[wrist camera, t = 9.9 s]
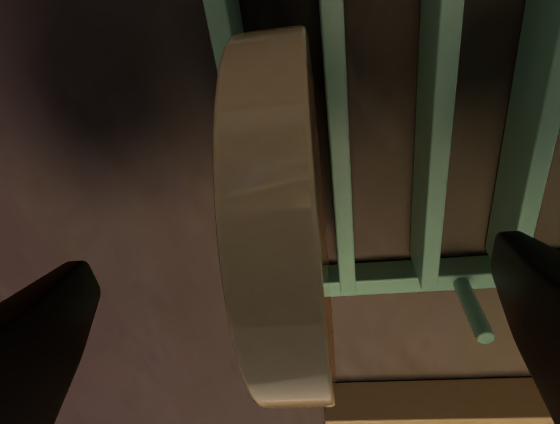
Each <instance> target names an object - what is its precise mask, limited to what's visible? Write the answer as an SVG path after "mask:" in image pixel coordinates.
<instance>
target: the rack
mask: <svg viewBox="0 0 560 424" xmlns="http://www.w3.org/2000/svg"><path fill="white" fill-rule="evenodd" d="M464 1H465V0H421V11H420V33H419V55H418V78H417V100H416V122H415V144H414V166H413V188H412V211H411V233H410V256H411V259H412V260H402V261H386V262H370V263H355V254H354V232H353V209H352V186H351V163H350V141H349V118H348V95H347V72H346V49H345V27H344V4H343V0H319V12H320V26H321V40H322V54H323V68H324V82H325V95H326V109H327V123H328V137H329V151H330V165H331V178H332V192H333V206H334V220H335V234H336V248H337V261H338V264H337V265H329V278H330V292H331V296H350V295H369V294H388V293H407V292H425V291H444V290H456V293H457V295H458V297H459V300H460V302H461V304H462V307H463V309H464V311H465V314H466V316H467V319H468V321H469V323H470V326H471V328H472V330H473V333H474V335H475V337H476V340H477V341H478V342H479V343H481V344H488V343H491V342H492V341H493V340H494V339H495V335H494V333H493V331H492V329H491V327H490V324H489V322H488V320H487V318H486V316H485V314H484V312H483V310H482V308H481V306H480V303H479V301H478V299H477V297H476V295H475V293H474V291H473V289H482V288H496V286H495V283H494V280H493V277H492V274H491V269H490V262H491V257H492V251H493V245H494V240H495V236H496V234H497V233H499V232H502V231H516V230H517V231H521V232H523V233H525V234H527V235H529V236H531V237H533V236H534V232H535V228H536V224H537V220H538V215H539V211H540V207H541V203H542V199H543V195H544V190H545V186H546V182H547V178H548V174H549V169H550V165H551V161H552V157H553V153H554V148H555V144H556V140H557V136H558V132H559V127H560V0H526V4H525V10H524V16H523V22H522V28H521V34H520V40H519V46H518V52H517V58H516V64H515V70H514V76H513V82H512V88H511V94H510V100H509V106H508V112H507V118H506V124H505V130H504V136H503V142H502V148H501V155H500V161H499V167H498V173H497V179H496V185H495V191H494V197H493V203H492V209H491V215H490V221H489V227H488V233H487V239H486V245H485V250H486V251H487V253H488V255H483V256H466V257H450V258H440V254H441V243H442V233H443V222H444V212H445V201H446V191H447V180H448V170H449V159H450V148H451V138H452V127H453V117H454V106H455V96H456V85H457V75H458V64H459V54H460V43H461V33H462V22H463V12H464ZM203 5H204V10H205V14H206V19H207V24H208V29H209V34H210V39H211V44H212V49H213V53H214V58H215V63H216V68H217V73H218V71H219V66H220V61H221V57H222V54H223V50H224V47H225V45H226V43H227V42H228V40H229V38H231V37H232V36H234V35H235V34H237V33H243V32H244V30H243V24H242V18H241V12H240V6H239V0H203Z"/></svg>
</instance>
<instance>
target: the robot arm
mask: <svg viewBox="0 0 560 424" xmlns="http://www.w3.org/2000/svg"><path fill="white" fill-rule="evenodd" d="M490 269H491V274H492V277H493V280H494V283H495V286H496V289H497V292H498V295H499V298H500V301H501V304H502V307H503V309H504V312H505V315H506V318H507V321H508V324H509V327H510V330H511V333H512V335H513V338H514V340H515V342H516V345H517V347H518V349H519V351H520V353H521V355H522V358H523V360H524V362H525V364H526V366H527V368H528V370H529V372H530V374H531V376H532V378H533V380H534V382H535V385H536V387H537V389H538V391H539V393H540V395H541V397H542V399H543V401H544V403H545V405H546V407H547V409H548V412H549V414H550V416H551V418H552V420H553V422H554V424H560V251H558V250H556V249H554V248H552V247H550V246H548V245H546V244H544V243H542V242H540V241H538V240H537V239H535V238H533V237H531V236H529V235H527V234H525V233H523V232H521V231H517V230H516V231H502V232H499V233H497V234H496V236H495V240H494V245H493V251H492V257H491V262H490ZM99 299H100V287H99V284H98V282H97V280H96V278H95V276H94V274H93V272H92V270H91V268H90V266H89V264H88V263H87V262H86V261H69V262H66V263H64V264H62V265H61V266H59V267H58V268H56V269H54V270H53V271H51V272H49V273H48V274H46V275H45V276H43V277H41V278H40V279H38V280H36V281H35V282H33V283H32V284H30V285H28V286H27V287H25V288H23V289H22V290H20V291H18V292H17V293H15V294H14V295H12V296H10V297H9V298H7V299H5V300H4V301H2V302H1V303H0V424H54V423H55V421H56V418H57V416H58V413H59V411H60V409H61V406H62V404H63V401H64V399H65V397H66V394H67V392H68V389H69V387H70V385H71V382H72V380H73V377H74V375H75V372H76V370H77V368H78V365H79V363H80V360H81V357H82V355H83V352H84V349H85V346H86V342H87V339H88V336H89V332H90V329H91V326H92V322H93V319H94V316H95V312H96V309H97V306H98V302H99Z"/></svg>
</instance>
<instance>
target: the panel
mask: <svg viewBox="0 0 560 424" xmlns="http://www.w3.org/2000/svg"><path fill="white" fill-rule="evenodd" d="M325 424H554V422H553V420H552V418H551V416H550V414H549V412H548V409H547V407H546V405H545V403H544V401H543V399H542V397H541V395H540V393H539V391H538V389H537V387H536V385H535V382H534V380H533V378H532V377H529V378H493V379H458V380H423V381H387V382H352V383H336V404H335V406H333V407H325Z"/></svg>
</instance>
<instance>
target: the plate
mask: <svg viewBox="0 0 560 424" xmlns="http://www.w3.org/2000/svg"><path fill="white" fill-rule="evenodd" d="M213 184H214V206H215V220H216V234H217V244H218V254H219V263H220V272H221V279H222V286H223V293H224V299H225V306H226V311H227V317H228V322H229V327H230V332H231V337H232V341H233V345H234V349H235V353H236V357H237V361H238V364H239V367H240V370H241V373H242V376H243V379H244V382H245V385H246V387H247V389H248V391H249V393H250V396H251V397H252V399H253V400H254V401H255V403H256V404H257V405H259V406H260V407H262V408H264V409H272V408H316V407H333V406H335V404H336V372H335V353H334V337H333V321H332V306H331V292H330V278H329V264H328V251H327V237H326V224H325V212H324V195H323V183H322V172H321V160H320V149H319V137H318V126H317V114H316V103H315V91H314V80H313V70H312V66H311V57H310V48H309V40H308V34H307V30H306V27H305V26H304V25H296V26H288V27H281V28H273V29H266V30H258V31H251V32H243V33H237V34H235V35H234V36H232V37H231V38H229V40H228V42H227V43H226V45H225V47H224V50H223V54H222V57H221V61H220V66H219V71H218V77H217V84H216V94H215V103H214V122H213Z"/></svg>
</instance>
